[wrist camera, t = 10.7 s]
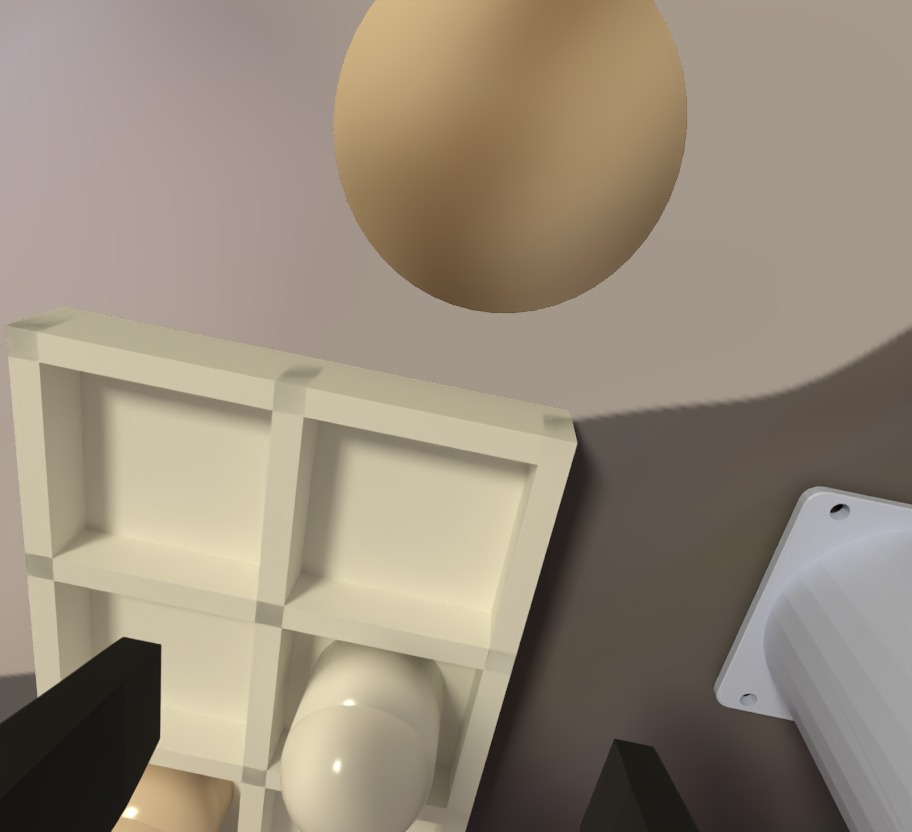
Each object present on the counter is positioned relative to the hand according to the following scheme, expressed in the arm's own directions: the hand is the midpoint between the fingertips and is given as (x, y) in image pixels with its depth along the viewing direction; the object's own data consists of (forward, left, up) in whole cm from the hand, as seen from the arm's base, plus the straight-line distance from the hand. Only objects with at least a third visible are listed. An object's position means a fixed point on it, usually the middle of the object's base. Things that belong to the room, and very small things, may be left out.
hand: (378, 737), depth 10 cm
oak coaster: (0, -9, -9) cm, 13 cm away
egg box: (+4, +8, -9) cm, 13 cm away
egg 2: (+1, +8, -9) cm, 12 cm away
